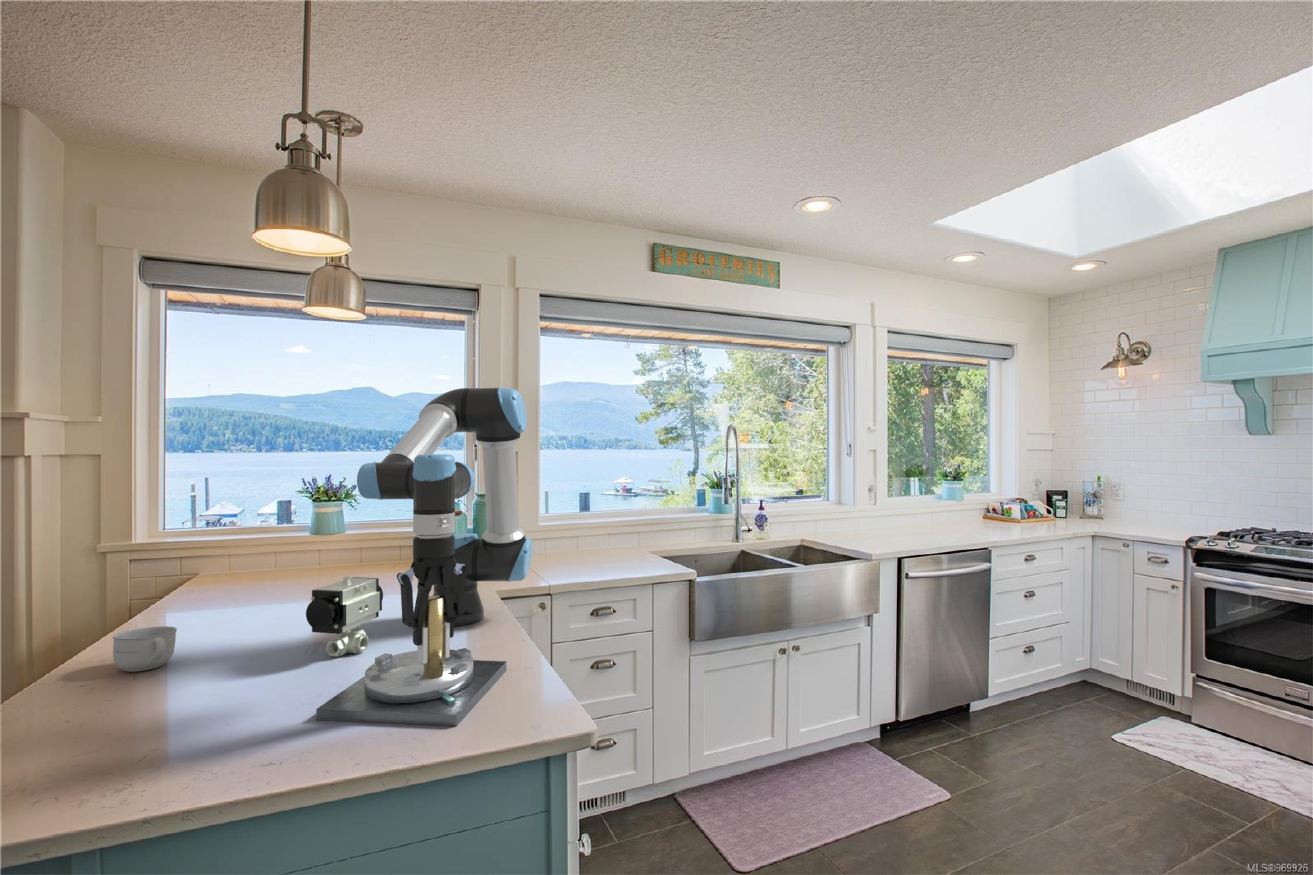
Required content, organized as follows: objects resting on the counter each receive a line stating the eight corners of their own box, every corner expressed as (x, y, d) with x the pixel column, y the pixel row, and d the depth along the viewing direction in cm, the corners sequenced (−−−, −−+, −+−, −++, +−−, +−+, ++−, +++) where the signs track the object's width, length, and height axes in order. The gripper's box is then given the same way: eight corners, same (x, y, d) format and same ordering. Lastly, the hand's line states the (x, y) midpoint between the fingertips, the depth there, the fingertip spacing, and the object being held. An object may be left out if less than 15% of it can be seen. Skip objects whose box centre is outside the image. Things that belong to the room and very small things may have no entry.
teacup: (109, 667, 136) (109, 631, 136) (171, 655, 143) (171, 620, 143) (118, 684, 126) (118, 645, 126) (184, 670, 134) (184, 633, 134)
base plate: (392, 666, 136) (392, 654, 136) (506, 670, 133) (506, 658, 133) (316, 720, 110) (316, 705, 110) (456, 726, 108) (456, 711, 108)
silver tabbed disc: (340, 694, 115) (340, 600, 115) (413, 658, 134) (413, 577, 134) (429, 709, 109) (429, 609, 109) (492, 669, 128) (492, 584, 128)
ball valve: (337, 667, 135) (337, 586, 136) (304, 664, 137) (304, 584, 137) (389, 640, 153) (388, 569, 153) (358, 638, 155) (358, 568, 155)
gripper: (397, 542, 108) (397, 675, 108) (484, 532, 120) (483, 652, 120) (381, 537, 114) (380, 664, 114) (465, 528, 126) (465, 643, 125)
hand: (433, 658), depth 117 cm, fingers closed on silver tabbed disc, 4 cm apart
